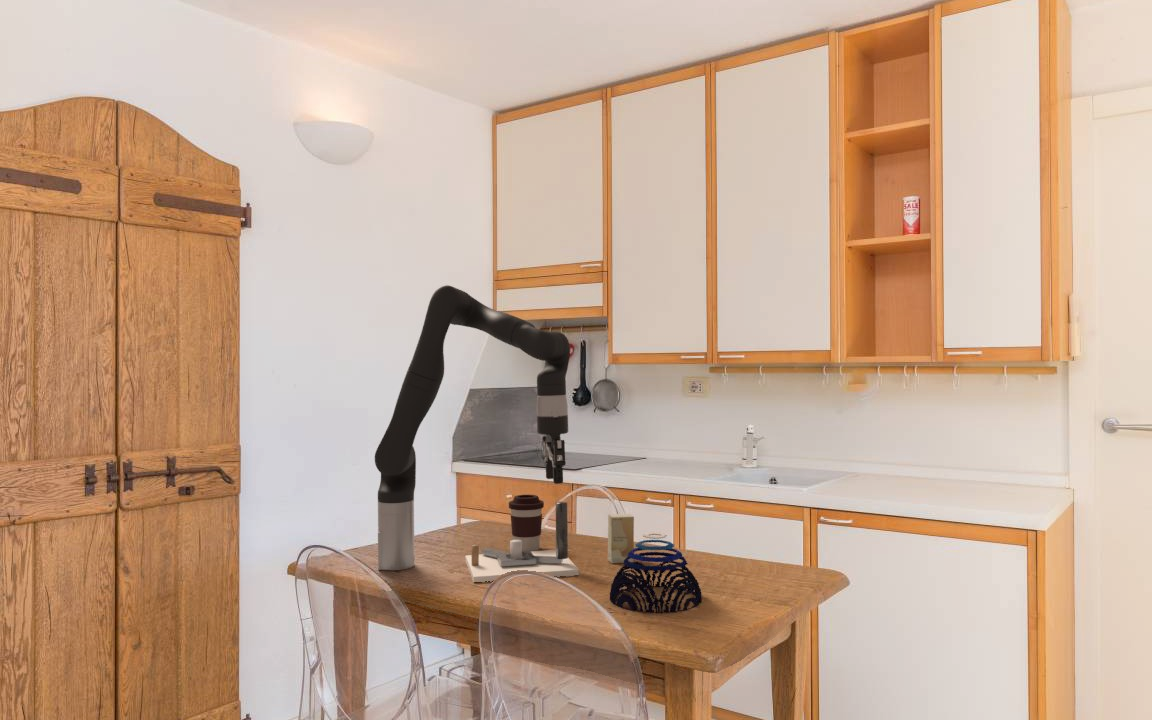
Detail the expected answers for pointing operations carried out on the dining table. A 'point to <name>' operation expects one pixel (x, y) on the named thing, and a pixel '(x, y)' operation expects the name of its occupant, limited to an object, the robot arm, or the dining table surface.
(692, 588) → the decorative bowl
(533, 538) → the coffee cup
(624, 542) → the skincare box
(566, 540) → the grey angle bracket
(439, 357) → the robot arm
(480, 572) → the post base
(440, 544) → the dining table surface
